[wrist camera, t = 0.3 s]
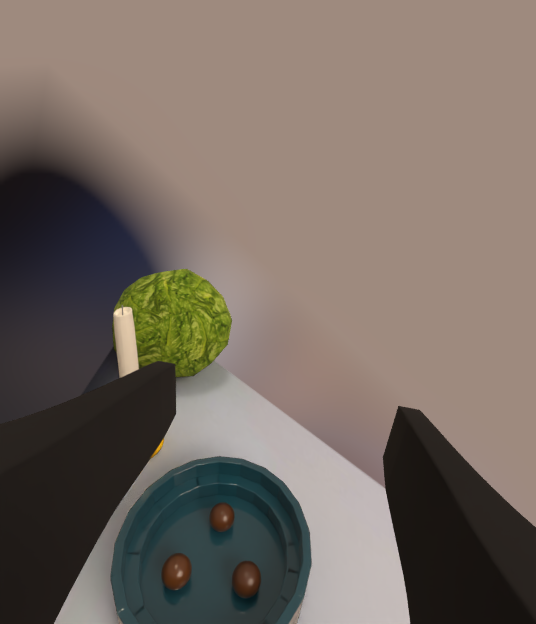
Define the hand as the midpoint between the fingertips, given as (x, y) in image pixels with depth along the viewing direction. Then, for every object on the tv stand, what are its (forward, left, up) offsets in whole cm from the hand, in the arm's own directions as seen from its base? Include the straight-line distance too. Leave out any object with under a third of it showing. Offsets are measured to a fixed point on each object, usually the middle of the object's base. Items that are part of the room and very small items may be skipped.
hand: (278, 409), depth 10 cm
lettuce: (+35, +20, -14) cm, 42 cm away
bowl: (+6, +3, -20) cm, 21 cm away
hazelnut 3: (+4, 0, -19) cm, 19 cm away
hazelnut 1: (+4, +5, -19) cm, 20 cm away
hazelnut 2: (+8, +3, -19) cm, 21 cm away
